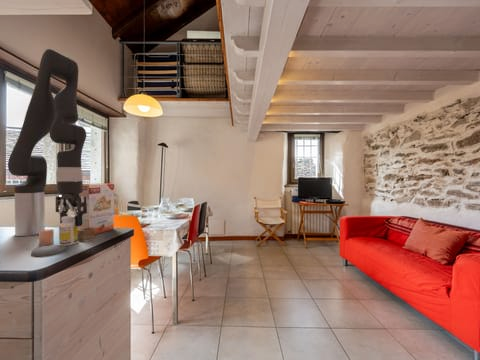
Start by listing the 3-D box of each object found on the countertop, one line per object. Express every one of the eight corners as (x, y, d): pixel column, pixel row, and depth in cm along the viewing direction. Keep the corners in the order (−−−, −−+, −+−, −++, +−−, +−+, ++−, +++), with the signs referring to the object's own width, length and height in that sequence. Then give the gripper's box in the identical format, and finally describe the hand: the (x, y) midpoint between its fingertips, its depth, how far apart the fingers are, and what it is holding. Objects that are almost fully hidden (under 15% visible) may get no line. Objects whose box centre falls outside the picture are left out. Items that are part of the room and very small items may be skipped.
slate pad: (25, 253, 73) (25, 250, 73) (56, 246, 81) (56, 243, 81) (40, 258, 70) (40, 254, 70) (71, 250, 77) (71, 246, 77)
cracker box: (89, 237, 93) (89, 184, 93) (76, 236, 95) (76, 184, 94) (115, 229, 107) (114, 183, 107) (103, 228, 108) (103, 183, 108)
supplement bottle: (74, 240, 88) (74, 214, 88) (80, 243, 85) (80, 216, 85) (56, 244, 84) (56, 216, 83) (62, 247, 81) (62, 218, 80)
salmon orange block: (36, 245, 82) (36, 231, 82) (50, 242, 86) (49, 228, 86) (42, 246, 81) (42, 232, 80) (56, 243, 84) (56, 229, 84)
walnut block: (77, 240, 89) (77, 230, 89) (87, 237, 92) (87, 227, 92) (83, 241, 87) (83, 231, 87) (94, 239, 91) (94, 228, 91)
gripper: (46, 180, 84) (47, 225, 84) (70, 180, 78) (72, 229, 78) (69, 180, 91) (70, 221, 91) (93, 179, 85) (94, 224, 85)
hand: (71, 225), depth 85 cm, fingers open, 8 cm apart
